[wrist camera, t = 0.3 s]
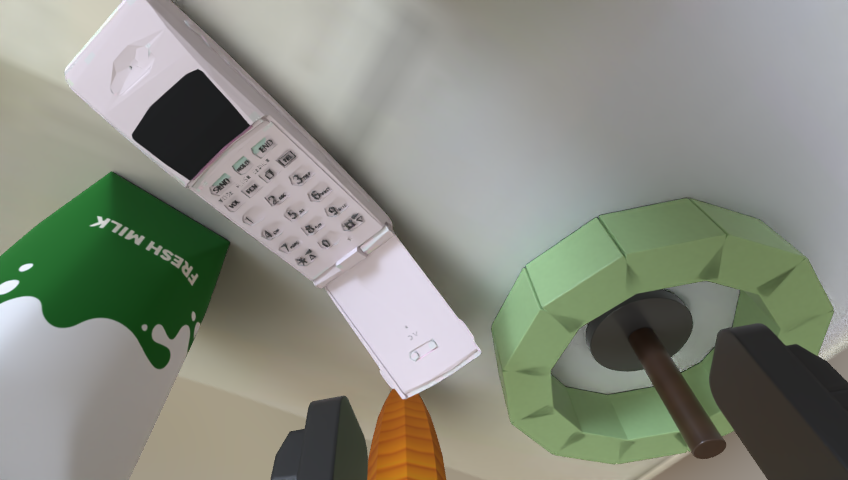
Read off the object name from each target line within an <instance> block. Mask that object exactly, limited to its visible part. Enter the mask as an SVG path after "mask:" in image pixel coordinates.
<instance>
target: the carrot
mask: <svg viewBox="0 0 848 480" xmlns="http://www.w3.org/2000/svg"><path fill="white" fill-rule="evenodd" d="M367 480H446V476H445V469H444V463H443V456H442V452H441V449H440V445H439V442H438V438H437V434H436V431H435V428H434V425H433V422H432V419H431V416H430V414H429V412H428V410H427V408H426V406H425V404H424V402H423V400H422V399H421V397H420V395H419V394H418V393H417V394H415V395H413V396H411V397H409V398H407V399H402V398H401V397H400V395H399V394H398V393H397V391H396V390H395V389H392V391H391V392H390V394H389V396H388V397H387V399H386V401H385V403H384V405H383V408H382V410H381V412H380V414H379V417H378V420H377V424H376V428H375V432H374V435H373V440H372V444H371V449H370V454H369V459H368V474H367Z"/></svg>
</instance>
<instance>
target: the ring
mask: <svg viewBox="0 0 848 480" xmlns="http://www.w3.org/2000/svg"><path fill="white" fill-rule="evenodd" d="M701 281H709V282H713V283H716V284H720V285H724V286H728V287H732V288H735V289H739V290H740V294H739V299H738V304H737V308H736V313H735V317H734V322H733V327H738V326H744V325H750V324H755V323H761V324H764V325H766V326H767V327H768V328H769V329H770V330H772V332H773V333H774V334H775V335H776V336H777V337H778V338H779V339H780V340H781V341H782V342H783V343H784V344H785V345H786V346H787V345H793V344H798V345H800V346H801V347H803V348H805V349H806V350H808V351H810V352H811V353H813V354H815V355H817V356H818V353H819V351H820V348H821V345H822V343H823V340H824V337H825V335H826V332H827V329H828V326H829V324H830V321H831V318H832V316H833V313H834V311H833V309H834V308H833V306H832V305H831V303H830V301H829V299H828V297H827V295H826V293H825V291H824V289H823V287H822V285H821V283H820V281H819V280H818V278H817V276H816V274H815V272H814V270H813V268H812V266H811V264H810V262H809V260H808V258H807V257H805V256H804V255H803V254H802V253H800V252H799V251H798V250H797V249H795V248H794V247H793V246H792V245H790V244H789V243H788V242H787V241H786V240H784V239H783V238H782V237H781V236H779V235H778V234H777V233H776V232H774V231H773V230H772V229H771V228H769V227H768V226H767V225H766V224H765V223H763V222H762V221H761V220H759V219H756V218H753V217H750V216H747V215H743V214H740V213H737V212H734V211H730V210H727V209H724V208H721V207H718V206H714V205H711V204H708V203H705V202H701V201H698V200H695V199H692V198H690V199H688V198H684V199H679V200H674V201H669V202H664V203H659V204H654V205H649V206H644V207H639V208H634V209H629V210H624V211H619V212H614V213H609V214H604V215H599V219H598V218H594V219H593V220H591V221H590V222H588V223H587V224H585V225H584V226H582V227H581V228H579V229H578V230H577V231H575V232H574V233H572V234H571V235H569V236H568V237H566V238H565V239H563V240H562V241H560V242H559V243H558V244H556V245H555V246H553V247H552V248H550V249H549V250H547V251H546V252H544V253H543V254H541V255H540V256H539V257H537V258H536V259H534V260H533V261H531V262H530V263H528V264H527V265H526V268H523V269H522V271H521V273H520V275H519V277H518V278H517V280H516V282H515V284H514V286H513V288H512V289H511V291H510V293H509V295H508V297H507V298H506V300H505V302H504V304H503V306H502V308H501V309H500V311H499V313H498V315H497V317H496V319H495V320H494V322H493V324H492V328H491V330H492V336H493V342H494V348H495V354H496V360H497V366H498V372H499V377H500V381H501V386H502V390H503V394H504V398H505V402H506V406H507V410H508V414H509V419H510V422H511V423H512V425H514V426H515V427H516V428H518V429H519V430H520V431H522V432H523V433H524V434H526V435H527V436H529V437H530V438H531V439H533V440H534V441H535V442H537V443H538V444H539V445H541V446H542V447H543V448H545V449H546V450H547V451H549V452H550V453H551V454H554V455H556V456H562V457H569V458H576V459H582V460H589V461H595V462H602V463H609V464H616V463H617V464H622V463H628V462H634V461H639V460H645V459H651V458H657V457H663V456H669V455H675V454H681V453H686V452H687V450H688V451H689V452H690V449H689V447H688V445H687V444H686V442H685V440H684V438H683V437H682V435H681V433H680V431H679V430H678V428H677V426H676V424H675V422H674V421H673V419H672V417H671V415H670V414H669V412H668V410H667V408H666V407H665V405H664V403H663V401H662V400H661V398H660V396H659V394H658V393H657V391H656V389H655V387H650V388H644V389H638V390H633V391H627V392H622V393H616V394H610V395H606V394H600V393H595V392H590V391H584V390H579V389H574V388H569V387H565V386H564V385H563V384H561V383H560V382H559V381H558V380H557V379H556V378H555V377H554V376H552V375H551V370H552V368H553V367H554V365H555V364H556V362H557V361H558V359H559V358H560V356H561V355H562V353H563V352H564V350H565V349H566V347H567V346H568V345H569V343H570V342H571V340H572V339H573V337H574V336H575V334H576V333H577V331H578V330H579V328H581V327H582V326H584V325H586V324H587V323H589V322H591V321H592V320H594V319H595V318H597V317H599V316H600V315H602V314H604V313H605V312H607V311H609V310H610V309H612V308H614V307H615V306H617V305H619V304H620V303H622V302H624V301H625V300H627V299H629V298H630V297H632V296H633V295H635V294H638V293H643V292H649V291H654V290H659V289H664V288H670V287H675V286H680V285H685V284H691V283H696V282H701ZM733 327H732V328H733ZM714 349H715V347H714V348H713V349H712V351H711V352H710V353H709V354H708V355H707V356H706V357H705V358H704V359H703V361H702V362H701V363H699V364H697V365H695V366H693V367H691V368H689V369H687V370H685V371H684V372H682V373H681V374H682V375H683V377H684V379H685V380H686V382H687V383H688V385H689V386H690V388H691V389H692V391H693V393H694V394H695V396H696V397H697V399H698V400H699V402H700V403H701V405H702V407H703V408H704V410H705V411H706V413H707V414H708V416H709V417H710V419H711V420H712V422H713V424H714V425H715V427H716V428H717V430H718V431H719V433H720V434H721V436H724V435H726V434H729V433H730V432H733V431H734V429H733V428H732V426H731V425H730V424H729V422H728V421H727V419H726V418H725V416H724V415H723V413H722V412H721V410H720V409H719V407H718V406H717V404H716V402H715V400H714V398H713V395H712V393H711V389H710V385H709V374H710V369H711V364H712V359H713V354H714Z"/></svg>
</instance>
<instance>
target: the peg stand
mask: <svg viewBox="0 0 848 480" xmlns="http://www.w3.org/2000/svg"><path fill="white" fill-rule="evenodd" d="M692 327H693V321H692V316H691V313H690V312H689V310H688V309H687V307H686V306H685V305H684V303H683V302H682V301H681V300H680V299H679V298H678V297H677V296H676V295H674V294H673V293H671V292H668V291H665V290H661V289H659V290H654V291H649V292H643V293H638V294H635V295H633V296H632V297H630V298H629V299H627V300H625V301H624V302H622V303H620V304H619V305H617V306H615V307H614V308H612V309H610V310H609V311H607V312H605V313H604V314H602V315H600V316H599V317H597V318H595V319H594V320H592V321H591V322H589V325H588V327H587V331H586V341H587V344H588V347H589V349H590V351H591V353H592V355H593V357H594V358H595V360H596V361H597V362H598V363H600V364H601V365H602V366H604V367H606V368H609V369H612V370H616V371H637V370H642V369H644V370H645V371H646V373H647V375H648V377H649V379H650V380H651V382H652V384H653V386H654V387H655V389H656V391H657V393H658V394H659V396H660V398H661V400H662V401H663V403H664V405H665V407H666V408H667V410H668V412H669V414H670V415H671V417H672V419H673V421H674V422H675V424H676V426H677V428H678V430H679V431H680V433H681V435H682V437H683V438H684V440H685V442H686V444H687V445H688V447H689V449H690V451H691V452H692V454H693V455H694V456H695V457H696V458H700V459H707V458H711V457H714V456H716V455H718V454H720V453H721V452H723V450H724V449H725V448H726V442H725V441H724V439H723V438H722V436H721V434H720V433H719V431H718V430H717V428H716V427H715V425H714V424H713V422H712V420H711V419H710V417H709V416H708V414H707V413H706V411H705V410H704V408H703V407H702V405H701V403H700V402H699V400H698V399H697V397H696V396H695V394H694V393H693V391H692V389H691V388H690V386H689V385H688V383H687V382H686V380H685V379H684V377H683V375H682V374H681V372H680V371H679V369H678V368H677V366H676V365H675V363H674V362H673V360H672V358H671V357H672V356H673V355H674V354H675V353H677V352H678V351H679V350H680V349H681V348H682V347H683V346H684V344H685V343H686V342H687V340H688V338H689V336H690V334H691V331H692Z"/></svg>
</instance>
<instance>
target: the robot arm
mask: <svg viewBox="0 0 848 480" xmlns="http://www.w3.org/2000/svg"><path fill="white" fill-rule="evenodd" d="M709 385H710V389H711V393H712V395H713V398H714V400H715V402H716V404H717V406H718V407H719V409H720V410H721V412H722V413H723V415H724V416H725V418H726V419H727V421H728V422H729V424H730V425H731V426H732V428H733V429H734V431H735V432H736V434H737V435H738V437H739V438H740V440H741V441H742V443H743V444H744V445H745V447H746V448H747V450H748V451H749V453H750V454H751V456H752V457H753V459H754V460H755V461H756V463H757V465H758V466H759V467H760V469H761V470H762V472H763V473H764V474H765V476H766V478H767V479H768V480H848V382H847V381H846V380H845V379H844V378H843V377H842V376H841V375H840V374H839V373H838V372H837V371H836V370H835V369H833V367H832V366H831V365H830V364H829V363H828V362H827V361H825V360H823V359H822V358H820V357H818V356H817V355H815V354H813V353H811V352H810V351H808V350H806V349H805V348H803V347H801V346H800V345H798V344H793V345H787V346H786V345H785V344H784V343H783V342H782V341H781V340H780V339H779V338H778V337H777V336H776V335H775V334H774V333H773V332H772V330H770V329H769V328H768V327H767V326H766V325H764V324H761V323H755V324H750V325H744V326H738V327H733V328H727V329H722V330H720V331H719V332H718V335H717V339H716V344H715V349H714V354H713V359H712V364H711V369H710V374H709ZM367 474H368V456H367V447H366V442H365V438H364V435H363V433H362V430H361V428H360V426H359V423H358V421H357V419H356V416H355V414H354V412H353V409H352V407H351V405H350V402H349V400H348V398H347V397H346V396H340V397H334V398H329V399H323V400H318V401H313V402H311V403H310V405H309V408H308V413H307V419H306V425H305V429H302V430H296V431H291V432H289V434H288V436H287V437H286V439H285V441H284V442H283V444H282V446H281V447H280V449H279V451H278V452H277V454H276V457H275V461H274V466H273V471H272V475H271V480H367Z"/></svg>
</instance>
